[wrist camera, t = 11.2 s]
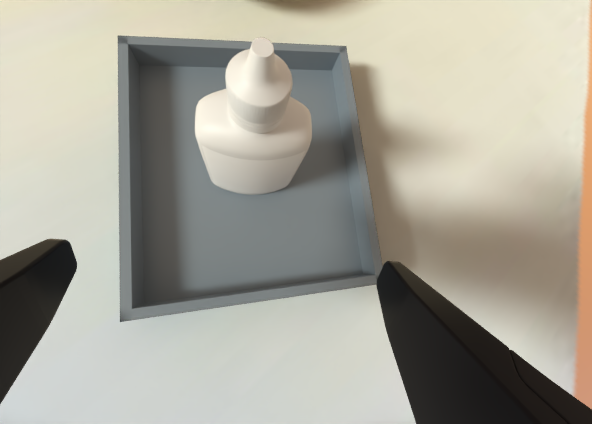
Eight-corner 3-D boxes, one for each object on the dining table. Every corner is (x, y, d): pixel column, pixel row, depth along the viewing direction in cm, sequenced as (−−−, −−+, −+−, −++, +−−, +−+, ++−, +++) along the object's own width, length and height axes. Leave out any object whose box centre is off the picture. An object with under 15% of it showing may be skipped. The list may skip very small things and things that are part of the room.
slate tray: (367, 280, 21) (385, 283, 18) (138, 313, 18) (120, 321, 15) (334, 70, 24) (346, 46, 21) (134, 65, 21) (117, 35, 18)
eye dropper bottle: (270, 217, 20) (310, 148, 8) (200, 178, 19) (137, 48, 8) (298, 167, 21) (367, 46, 9) (232, 129, 20) (218, -47, 9)
